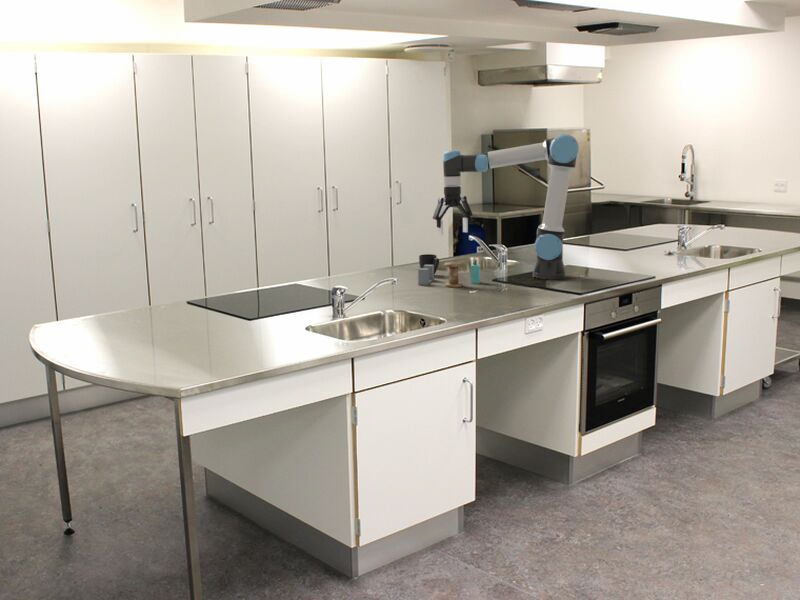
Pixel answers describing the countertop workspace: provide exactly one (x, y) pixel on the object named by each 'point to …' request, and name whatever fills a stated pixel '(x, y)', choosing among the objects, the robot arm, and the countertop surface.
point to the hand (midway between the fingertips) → (453, 233)
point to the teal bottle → (475, 273)
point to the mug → (429, 261)
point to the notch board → (426, 275)
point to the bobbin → (453, 274)
